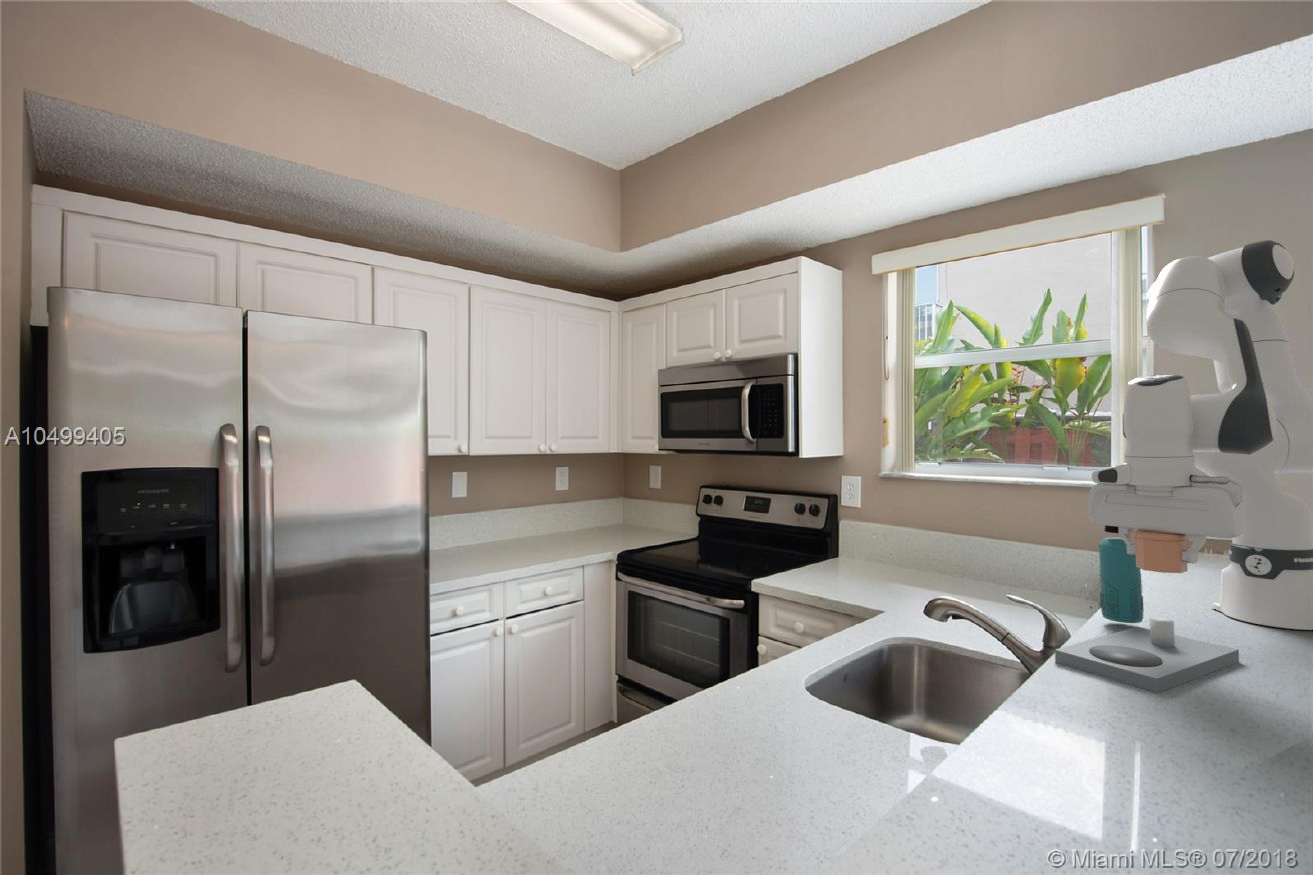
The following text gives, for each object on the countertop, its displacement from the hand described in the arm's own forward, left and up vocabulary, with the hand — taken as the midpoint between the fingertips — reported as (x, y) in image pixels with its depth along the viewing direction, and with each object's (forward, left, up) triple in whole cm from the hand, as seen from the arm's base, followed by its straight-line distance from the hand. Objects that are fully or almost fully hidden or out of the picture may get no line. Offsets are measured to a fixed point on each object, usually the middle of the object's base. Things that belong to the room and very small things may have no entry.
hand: (1161, 558), depth 100 cm
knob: (0, 0, -2) cm, 2 cm away
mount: (+5, 0, -16) cm, 17 cm away
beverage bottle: (-12, -12, -16) cm, 23 cm away
